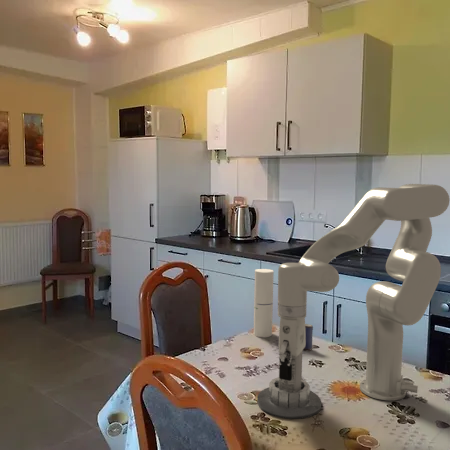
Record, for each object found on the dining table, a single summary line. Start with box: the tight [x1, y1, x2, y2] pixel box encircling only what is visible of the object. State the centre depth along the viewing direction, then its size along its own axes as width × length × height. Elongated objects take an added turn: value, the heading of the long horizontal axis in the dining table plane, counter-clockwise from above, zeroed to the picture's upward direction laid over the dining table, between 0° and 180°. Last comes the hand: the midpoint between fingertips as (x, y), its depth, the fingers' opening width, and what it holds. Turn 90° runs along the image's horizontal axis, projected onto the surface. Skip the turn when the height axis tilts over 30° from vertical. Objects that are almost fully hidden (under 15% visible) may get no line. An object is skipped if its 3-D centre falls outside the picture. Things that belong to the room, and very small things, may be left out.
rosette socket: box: [256, 376, 322, 420], centre depth 129 cm, size 17×17×5 cm
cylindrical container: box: [253, 268, 275, 338], centre depth 185 cm, size 7×7×25 cm
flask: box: [302, 323, 314, 352], centre depth 172 cm, size 9×3×11 cm, turn 52°
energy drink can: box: [279, 350, 304, 391], centre depth 129 cm, size 6×6×15 cm
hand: (291, 372), depth 129 cm, fingers open, 9 cm apart
